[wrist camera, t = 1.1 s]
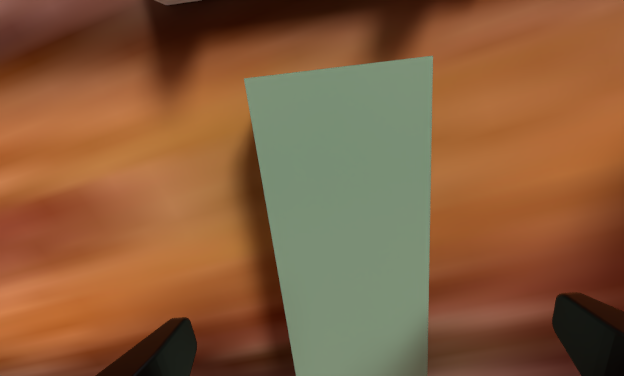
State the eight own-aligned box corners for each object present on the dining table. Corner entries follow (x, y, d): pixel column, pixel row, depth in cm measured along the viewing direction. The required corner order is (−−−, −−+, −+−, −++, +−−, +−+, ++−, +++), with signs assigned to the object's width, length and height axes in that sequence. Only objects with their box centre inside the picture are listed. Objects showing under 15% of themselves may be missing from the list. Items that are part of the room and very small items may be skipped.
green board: (395, 63, 12) (432, 55, 8) (400, 307, 16) (426, 389, 12) (271, 77, 13) (244, 78, 8) (306, 313, 17) (299, 394, 12)
